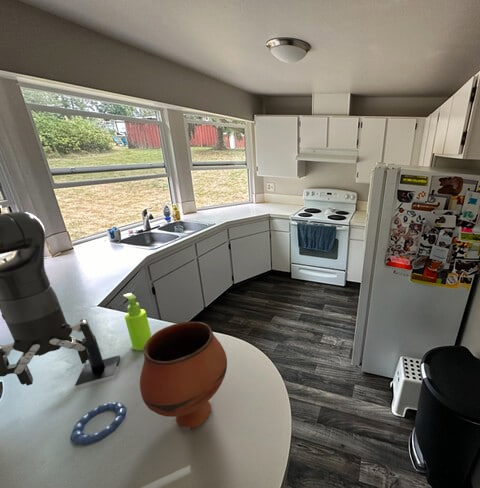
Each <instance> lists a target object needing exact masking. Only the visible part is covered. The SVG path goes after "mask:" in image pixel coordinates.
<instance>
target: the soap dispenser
mask: <svg viewBox="0 0 480 488" xmlns="http://www.w3.org/2000/svg"><path fill="white" fill-rule="evenodd" d="M122 297H123V298H125V299H127V300H128V305H126V306H127V307H126V310H127V313H126V314H125V315H124V320H125V324H126V329H127V331H128V335H129V339H130V343H131V346H132V349H133V350H134V351H143V350H144V346H145V344H146V343H147V341H148V340H149V339H150V338H151V337H152V332H151V328H150V325H149V320H148V315H147V311H146V309H143V308H141V306H140V303H139V302H136V300H137V296H136V295H135V294H133V293H130V292H128V293H125V294H123V295H122Z"/></svg>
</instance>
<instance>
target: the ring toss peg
mask: <svg viewBox="0 0 480 488" xmlns="http://www.w3.org/2000/svg"><path fill="white" fill-rule="evenodd" d="M93 335H94V334H93ZM94 339H95V343H94V344H93V345H89V346H88V347H87V351H88V353H89V360H87V361H88V363H87V362H86V363H84V364H83V368H82V370H81V371H80V373H79V376H78V378H77V380H76V381H75V384H74V387H76V386H79V385H83V384H87V383H90V382H94V381H98V380H100V379H104V378H108V377H111V376H114V375H115V371H116V368H117V367H118V366H119V363H120V361H121V355H115V356H110V357H108V358H103V356H102V352H101V349H100V347H99V344H98V341H97V337H96V335H94ZM81 340H82V341H83V340H85V336H83V338H82V339H81Z"/></svg>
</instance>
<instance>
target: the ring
mask: <svg viewBox="0 0 480 488" xmlns="http://www.w3.org/2000/svg"><path fill="white" fill-rule="evenodd" d="M107 411H113V412H115V414H116V415H115V418H114V419H113V421H112V422H111V423H110V424H109V425H108V426H106V427H105V428H104V429H101V430H100V431H98V432H95V433H93V434H85V433H84V429H85V426H86V425H87V424H88V422H90V421H91V419H93V418H94V417H96V416H97V415H99V414H101V413H104V412H107ZM126 415H127V407H126V406H125V405H124V404H123V403H122V402H116V401H111V402H107V403H103V404H101V405H98V406H97V407H95V408H93V409H92V410H90V411H88V412H87V413H85V414H84V415H83V416H82V417H81V418H80V419H79V420H78V421H77V422H76V423H75V424H74V426H73V429H72V432H71V434H70V439H71V440H72V443H73V444H74V445H76V446H77V445H78V446H88V445H91V444H93V443H96V442H99V441H101V440H103V439H105V438H106V437H108V436H109V435H110V434H112V433H113V432H115V431H116V430H117V429H118V427H119V426H120V425H121V424H122V423H123V422H124V420H125V419H126Z"/></svg>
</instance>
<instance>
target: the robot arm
mask: <svg viewBox="0 0 480 488" xmlns="http://www.w3.org/2000/svg"><path fill="white" fill-rule="evenodd" d="M2 209H3V208H2V205H0V255H3V254H7V253H12V252H15V254H14V256H13V257H12V258H10V259H8V260H7V261H5V262H3V263H0V313H1V317H2V320H3V321H4V323H5V324H6V325H7V328H8V330H9V332H10V335H11V337H12V339H13V342H12V343H8V344H5V345H4V344H0V377H1V378H2V377H3V378H4V377H7V375H11V374H14V375H16V377H17V379H18V381H19V383H20V384H21V385H23V386H24V385H26V386H27V387H28V386H30V385H33V382H34V377H33V375H32V373H31V370H30V369H29V367H28V364H30V362H31V361H32V359H33V358H34V356H38V357H40V356H44V355H46V354H48V353H50V352H55V351H59V350H60V348H65V349H68V350H76V351H77V354H78V357H79V359H80V362H81V364H82V365H85V364H87V361H88V360H89V353H88V351H87V347H88V346H89V345H93V344H94V343H95V339H94V333H93V331H92V328H91V326H90V324H89V321H88V320H87V319H86V318H82V319H80V320H79V322H77V323H74V324H68V322H67V320H66V318H65V314H64V312H63V309H62V306H61V304H60V301H59V299H58V295H57V293H56V292H55V290H54V288H53V287H52V284H51V282H50V279H49V277H48V274H47V271H46V267H45V246H46V231H45V227H44V225H43V222H41V220H40V219H39V218H38V217H36V216H35V215H33V214H32V213H29V212H27V211H11V212H3V210H2ZM2 212H3V213H2ZM74 331H76V332H77V333H82V335H83V337H85V340H83V341H82V339H79V338H77V337H76V336H74V335H72V332H74ZM12 350H14V351H17V352H20V353H22V354H21V356H20V357H19V359H18V360H17V362H16V363H12V364H11V363H10V361H9V359H8V356H9V355H10V354H11V352H12Z"/></svg>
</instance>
